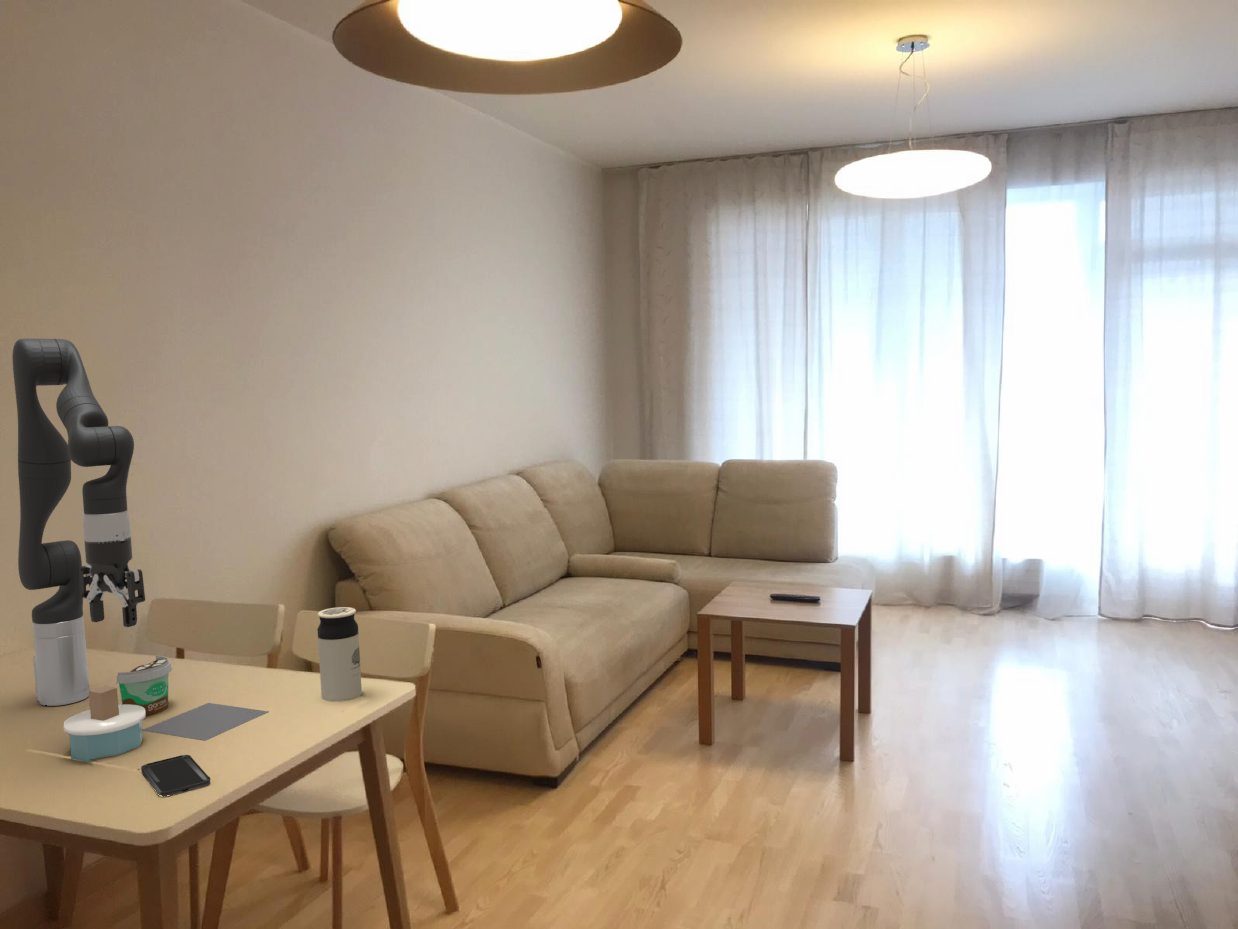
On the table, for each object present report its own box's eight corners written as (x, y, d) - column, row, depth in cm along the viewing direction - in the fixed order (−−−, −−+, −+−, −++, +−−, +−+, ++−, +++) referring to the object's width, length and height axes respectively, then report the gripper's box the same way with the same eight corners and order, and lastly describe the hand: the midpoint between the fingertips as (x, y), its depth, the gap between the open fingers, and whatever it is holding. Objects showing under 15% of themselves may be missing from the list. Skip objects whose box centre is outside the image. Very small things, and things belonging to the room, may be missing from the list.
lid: (47, 730, 172) (44, 697, 172) (112, 706, 184) (109, 675, 183) (98, 739, 167) (95, 705, 166) (161, 714, 179) (159, 682, 178)
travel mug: (313, 702, 198) (308, 614, 197) (337, 689, 206) (332, 605, 204) (346, 705, 195) (341, 617, 194) (369, 693, 203) (365, 607, 201)
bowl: (58, 756, 173) (56, 729, 172) (113, 734, 183) (111, 708, 182) (102, 765, 168) (100, 736, 168) (155, 742, 179) (153, 715, 178)
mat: (141, 733, 183) (141, 730, 183) (208, 705, 198) (208, 702, 198) (205, 743, 177) (205, 740, 177) (269, 714, 192) (269, 711, 191)
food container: (147, 725, 188) (143, 674, 187) (119, 723, 189) (115, 673, 188) (188, 703, 200) (184, 655, 199) (161, 702, 201) (157, 654, 200)
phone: (188, 753, 171) (211, 780, 159) (188, 759, 171) (212, 786, 159) (138, 765, 166) (159, 794, 154) (139, 772, 166) (159, 801, 154)
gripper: (62, 537, 177) (68, 625, 179) (116, 542, 171) (123, 633, 173) (99, 530, 184) (105, 615, 186) (153, 535, 178) (158, 622, 180)
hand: (114, 623), depth 179 cm, fingers open, 8 cm apart
